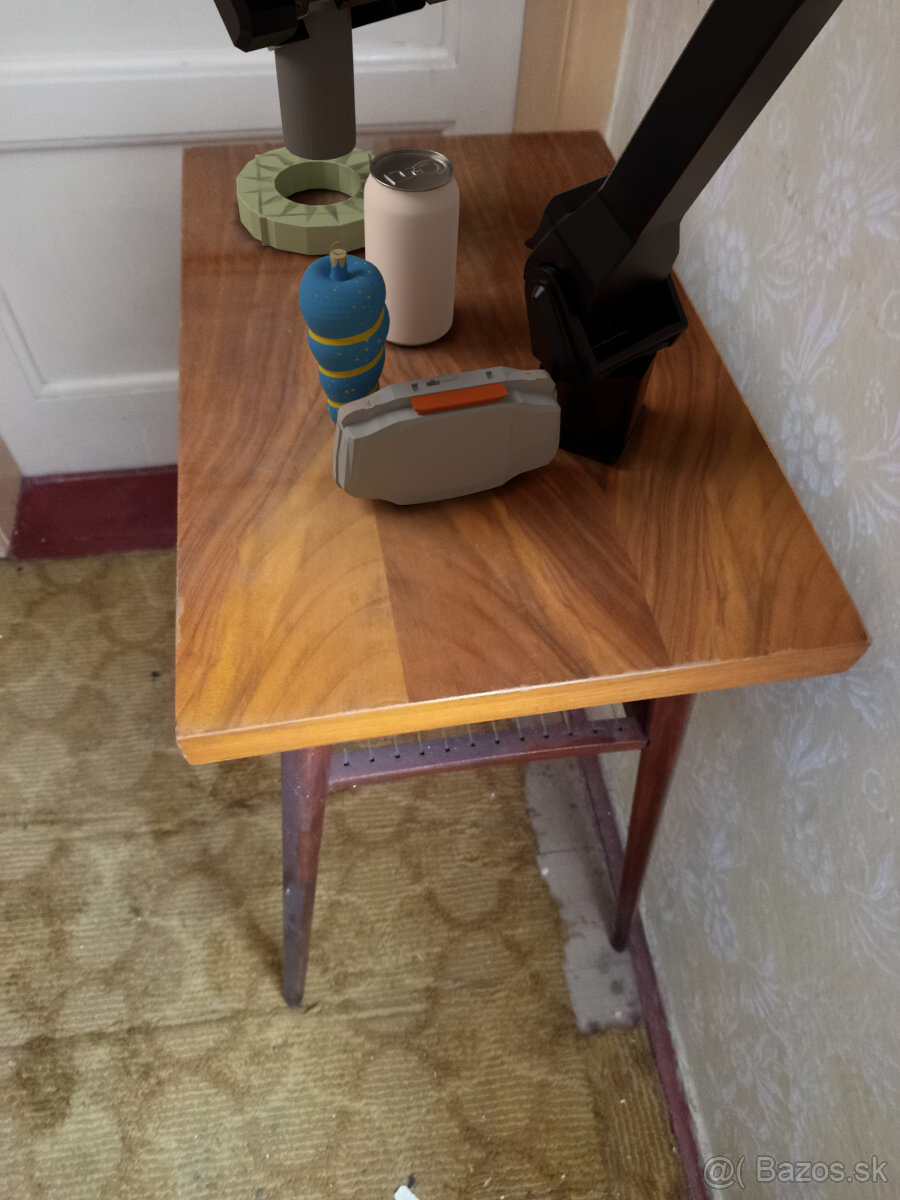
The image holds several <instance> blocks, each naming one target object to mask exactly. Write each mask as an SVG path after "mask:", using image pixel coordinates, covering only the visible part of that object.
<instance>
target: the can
mask: <svg viewBox="0 0 900 1200" xmlns="http://www.w3.org/2000/svg"><path fill="white" fill-rule="evenodd" d="M374 156H375V157H374V158H373V159H372V161H371V163H370V166H369V170H370V175H369V177H368V179H367V181H366V184H365V187H364V224H365V247H364V250H365V251H364V253H365V254H364V255H365V257H364V258H365V260H367V261H369V262H371V263H373V264H374V265H375V266H376V267H377V268H378V270H379V271H380V273H381V274H382V276H383V279H384V282H385V286H386V300H385V304H386V306H387V308H388V311H389V317H390V326H389V332H388V335H387V338H386V341H385V342H388V343H391V344H393V345H397V346H403V347H422V346H425V345H429V344H431V343H434V342H436V341H438V340H439V339H441V338H443V336H445V335H446V334H447V333H448V332H449V330H450V329H451V327H452V325H453V321H454V308H455V307H454V306H455V291H456V275H457V258H458V257H457V255H458V239H459V220H460V197H461V196H460V188H459V185H458V182H457V180H456V178H455V173H456V168H455V165H454V163H453V162H452V160H451V159H450V158H449V157H447V156H446V155H445V154H443V153H441V152H438V151H436V150H434V149H430V148H426V147H421V146H420V147H419V146H400V147H399V146H398V147H394V148H389V149H386V150H385V151H382V152H380V153H378V154H376V155H374Z"/></svg>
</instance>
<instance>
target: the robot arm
mask: <svg viewBox="0 0 900 1200" xmlns="http://www.w3.org/2000/svg"><path fill="white" fill-rule="evenodd" d="M212 1H213V3H214V6H215V8H216V9H217V12H218V15H219V16H220V18H221V20H222V24H223V25H224V28H225V29H226V31H227V34H228V36H229V38H230V40H231V43H232V44H233V47H235V48H237V49H238V50H240V51H241V52H243V53H245V54H247V53H251V52H255V51H257V50H262V49H266V48H267V50H268V51H269V52H272V51H273V52H274V50H276V49H279V48H282V47H285V46H288V45H291V44H294V43H297V42H301V41H304V40H307V39H309V38H310V36H309V33H308V31H307V29H306V26H305V24H304V22H303V18H305V17H306V15H307V14H308V11H309V5H313V4H318V3H322V2H326V1H330V0H212ZM447 1H448V0H334V2H335V5H336V7H337V9H338V10H341V9H345V8H349V7H351V19H352V30H355V29H359V28H361V27H365V26H369V25H373V24H376V23H379V22H382V21H386V20H390V19H393V18H396V17H400V16H404V15H407V14H410V13H413V12H416V11H422V10H423V9H424V8H425V7H426V5H427V4H428V5H429V6H431V5H436V4H439V3H443V2H447ZM843 2H844V0H712V1H711V3H710V5H709V6H708V8H707V10H706V11H705V13H704V14H703V16H702V18H701V20H700V21H699V23H698V25H697V26H696V28H695V30H694V31H693V33H692V34H691V36H690V38H689V39H688V41H687V43H686V45H685V46H684V48H683V50H682V52H681V53H680V55H679V56H678V58H677V59H676V62H675V63H674V65H673V67H672V68H671V69H670V72H668V75H667V76H666V78H665V79H664V81H663V83H662V85H661V87H660V88H659V89H658V91H657V93H656V95H655V97H654V98H653V100H652V102H651V104H650V105H649V106H648V109H647V110H646V112H645V113H644V115H643V117H642V119H641V120H640V121H639V124H638V125H637V126H636V128H635V130H634V132H633V134H632V135H631V137H630V138H629V140H628V142H627V144H626V145H625V147H624V148H623V150H622V152H621V154H620V155H619V157H618V158H617V160H616V162H615V163H614V165H613V167H612V168H611V170H610V172H609V173H608V174H606V175H602V176H600V177H598V178H595V179H592V180H589V181H588V182H584V183H582V184H580V185H577V186H574V187H572V188H570V189H567V190H565V191H562V192H559V193H556V194H555V195H553V196H552V198H551V199H550V200H549V202H548V204H547V205H546V206H545V208H544V211H543V213H542V216H541V221H540V223H539V226H538V228H537V229H536V231H535V232H534V234H533V235H532V236H530V237H529V238H528V239H526V240H524V246H525V248H527V249H529V250H530V252H529V253H528V255H527V257H526V259H525V263H524V267H523V276H522V279H523V281H524V285H523V289H524V300H525V309H526V315H527V316H526V317H527V325H528V331H529V340H530V350H531V354H532V356H533V357H534V358H535V359H537V360H538V361H539V366H538V370H545V371H547V372H548V373H549V374H550V376H551V378H552V380H553V381H554V383H555V385H556V386H555V388H556V390H557V403H558V404H559V406H560V408H561V412H560V434H559V445H558V447H561V448H565V449H567V450H570V451H573V452H575V453H577V454H581V455H583V456H586V457H589V458H591V459H594V460H597V461H600V462H603V463H606V464H608V465H611V466H613V465H617V464H619V462H620V461H621V459H622V458H623V455H624V453H625V452H626V450H627V448H628V447H629V444H630V442H631V441H632V439H633V437H634V435H635V434H636V431H637V430H638V428H639V425H640V424H641V422H642V420H643V418H644V417H645V415H646V413H647V410H648V409H647V408H648V406H647V404H646V403H644V402H645V398H646V394H647V392H648V391H647V390H648V388H649V384H650V381H651V380H650V379H651V376H652V373H653V369H654V365H655V362H656V358H657V355H658V352H659V351H661V350H663V349H665V348H670V347H672V346H673V345H676V344H677V342H678V341H679V339H681V337H682V336H683V334H685V332H686V331H687V329H688V328H689V321H688V318H687V315H686V313H685V310H684V307H683V305H682V301H681V299H680V296H679V294H678V291H677V290H678V289H677V288H676V285H675V281H674V279H673V277H672V273H671V269H672V268H673V266H674V264H675V263H676V260H677V258H678V256H679V254H680V250H681V223H682V221H683V219H684V218H685V217H684V216H685V215H686V214H687V213H688V211H689V210H690V208H691V207H692V205H693V204H694V203H695V202H696V201H697V199H698V197H699V196H700V195H701V193H702V192H703V191H704V189H705V188H706V187H707V185H708V184H709V183H710V181H711V180H712V178H714V176H715V175H716V173H717V172H718V171H719V169H720V168H721V167H722V165H723V163H724V162H725V161H726V160H727V158H728V157H729V155H731V153H732V151H734V149H735V148H736V146H737V145H738V144H739V142H740V141H741V139H742V138H743V137H744V135H745V134H746V132H747V131H748V130H749V128H751V126H752V124H753V123H754V122H755V120H756V119H757V118H758V117H759V115H760V114H761V112H762V111H763V110H764V108H765V107H766V106H767V104H768V103H769V101H770V100H771V99H772V98H773V96H774V95H775V94H776V92H777V91H778V90H779V88H780V86H781V85H782V84H783V83H784V81H785V80H786V78H788V76H789V74H790V73H791V72H792V70H793V69H794V68H795V66H797V64H798V62H799V61H800V60H801V58H802V57H803V55H805V53H806V51H807V50H808V49H809V48H810V46H811V45H812V43H813V42H814V40H815V39H816V38H817V36H818V35H819V34H820V33H821V31H822V30H823V28H824V27H825V26H826V25H827V23H828V22H829V21H830V19H831V18H832V16H833V15H834V14H835V12H836V11H837V9H838V8H839V7H840V6H841V4H842V3H843Z"/></svg>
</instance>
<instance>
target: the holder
mask: <svg viewBox="0 0 900 1200" xmlns="http://www.w3.org/2000/svg"><path fill="white" fill-rule="evenodd" d="M375 156H376V155H374V154H373V153H372V150H363V149H361V148H357V147H355V148H354V149H353V150H352V151H351V152H350V153H349V154H347V155H345V156H342V157H339V158H336V159H331V160H309V159H304V158H300V157H298V156H296V155H293V154H292V153H290V152H289V151H288V150H287V149H286V147H285V146H284V147H279V148H274V149H270V150H268V151H266V152H264V153H262V154H260V153H259V154H255V155H254V158H253V159H252V160H250V161H248V162H247V163H246V164H245V165H244V167H243V168H242V169H241V171H240V172H239V173H238V174H237V176H236V179H235V180H236V198H237V204H238V205H237V206H238V211H239V218H240V222H241V224H242V225H243V226H244V228H245V229H246V230H247V231H248V233H250V235H251V236H252V237H253V238H254V239H256V240H258V241H260V242H261V245H262V247H266V246H267V247H269V246H270V247H272V248H274V249H276V250H279V251H285V252H290V253H296V254H301V255H306V256H307V255H308V256H322V255H325V256H326V255H330V253H331V251H332V250H335V249H342V250H344V246H345V250H344V251H346V253H349V252H352V251H356V250H359V249H362V248H365V224H364V187H365V184H366V181H367V179H368V177H369V175H370V170H369V166H370V163H371V161H372V159H373V158H374V157H375ZM323 189H324V190H330V191H335V192H340V193H343V194H345V195H347V196H349V198H347V199H346V200H342V201H339V202H335V203H332V204H317V205H315V204H314V205H311V204H310V205H309V204H304V203H299V202H295V201H293V200H290V199H288V197H290V196H292V195H293V194H296V193H299V192H303V191H307V190H323ZM335 242H341V243H343V244H344V246H343V244H341V243H335ZM333 243H334V244H333ZM332 244H333V246H332ZM331 246H332V250H331Z"/></svg>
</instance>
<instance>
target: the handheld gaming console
mask: <svg viewBox="0 0 900 1200" xmlns="http://www.w3.org/2000/svg"><path fill="white" fill-rule="evenodd" d="M555 386H556V385H555V383H554V381H553V380H552V378H551V376H550V374H549V373H548V372H547V371H545V370H539V369H518V368H515V367H514V368H513V367H509V366H502V365H500V366H494V367H488V368H481V369H476V370H469V371H462V372H457V373H450V374H443V375H438V376H430V377H426V378H420V379H419V378H418V379H413V380H412V379H411V380H407V381H401V382H395V383H391V384H388V385H387V386H384V387H382V388H381V389H380V390H379V391H377V392H375V393H373V394H371V395H369V396H367V397H365V398H362V399H359V400H356V401H353V402H350V403H348V404H346V405H342V406H341V407H340V408H339V410H338V417H337V424H336V425H335V431H334V438H333V445H332V475H333V478H334V481H335V484H336V485H337V487H338V488H339V489H341V490H343V492H345V493H346V494H347V495H349V496H351V497H353V498H355V499H367V500H383V501H387V502H389V503H393V504H394V505H398V506H403V505H404V506H406V505H416V504H424V503H425V504H426V503H431V502H432V503H433V502H438V501H443V500H449V499H453V498H454V499H455V498H459V497H463V496H469V495H472V494H476V493H480V492H484V491H487V490H491V489H494V488H497V487H501V486H503V485H504V484H506V483H508V482H509V481H510V480H511V479H513V478H514V477H516V476H518V475H519V474H522V473H526V472H529V471H533V470H536V469H538V468H540V467H543V466H546V465H549V464H550V462H551V461H552V460H553V458H554V457H555V456H556V454H557V453H558V451H559V446H558V445H559V434H560V412H561V408H560V406H559V404H558V403H557V390H556V388H555Z"/></svg>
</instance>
